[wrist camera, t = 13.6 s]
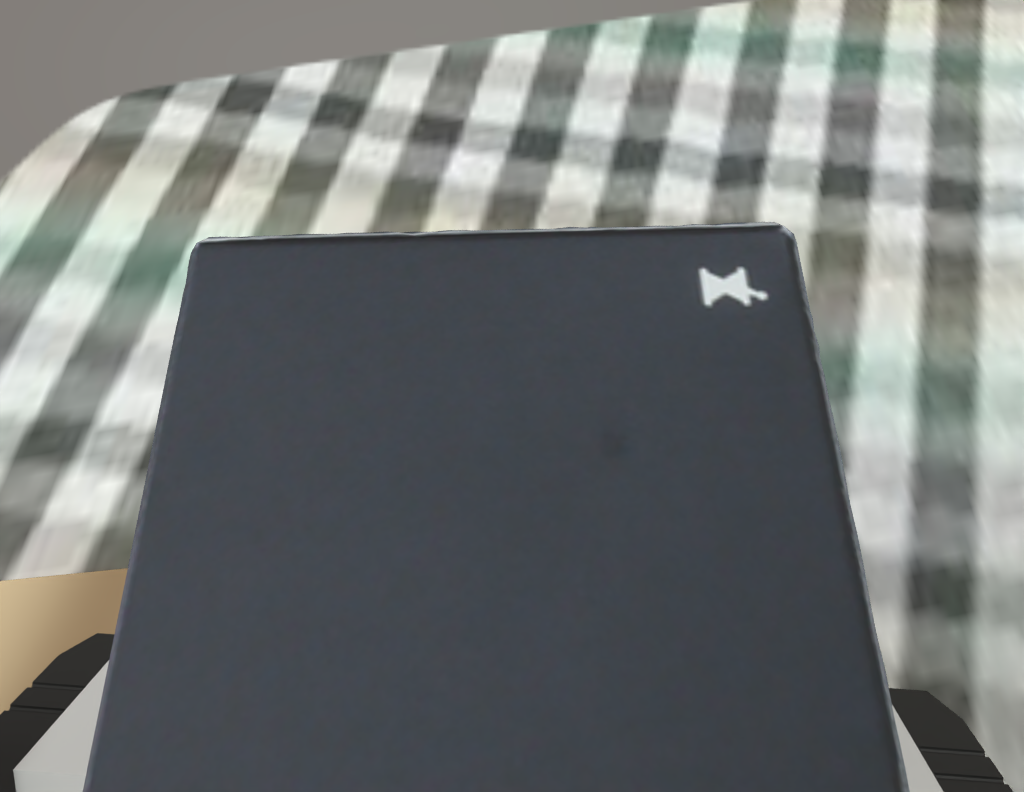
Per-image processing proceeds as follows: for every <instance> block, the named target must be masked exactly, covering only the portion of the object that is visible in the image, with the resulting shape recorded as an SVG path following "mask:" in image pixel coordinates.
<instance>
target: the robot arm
mask: <svg viewBox="0 0 1024 792" xmlns="http://www.w3.org/2000/svg"><path fill="white" fill-rule="evenodd" d="M113 639H114V634H104V633H97V634H95V635H93V636H91V637H89V638H88V639H86V640H84V641H82V642H81V643H79V644H77V645H75V646H74V647H72V648H70V649H68V650H67V651H65V652H63V653H61V654H60V655H58V656H57V657H56V658H55V659H54V660H53V661H52V662H51V663H50V664H49V665H48V666H47V667H46V669H45V670H44V671H43V672H42V673H41V674H40V675H39V676H38V677H37V678H36V679H35V680H34V681H33V682H32V687H31V688H30V687H27V688H26V689H25V690H24V691H23V692H22V693H21V694H20V695H19V696H18V697H17V698H16V699H15V700H14V701H13V702H12V703H11V704H10V709H9V711H6V710H4V711H3V712H2V713H1V714H0V792H83V788H84V783H85V778H86V773H87V767H88V762H89V757H90V752H91V747H92V743H93V738H94V733H95V728H96V723H97V718H98V713H99V708H100V703H101V698H102V693H103V688H104V683H105V679H106V674H107V669H108V664H109V659H110V654H111V649H112V644H113ZM889 692H890V697H891V703H892V708H893V713H894V718H895V723H896V727H897V732H898V736H899V741H900V745H901V750H902V755H903V760H904V765H905V770H906V775H907V780H908V786H909V791H910V792H1013V791H1012V790H1011V788H1010V787H1009V785H1006V784H1004V783H1003V777H1002V775H1001V774H1000V772H999V771H998V769H997V768H996V767H995V765H994V764H993V762H992V761H991V759H990V758H989V757H985V754H984V753H985V751H984V749H983V748H982V746H981V745H980V744H979V742H978V741H977V739H976V738H975V736H974V735H973V734H972V732H971V731H970V729H969V728H968V726H967V725H966V723H965V722H964V721H963V719H962V718H960V717H959V716H958V715H956V714H955V713H954V712H953V711H951V710H950V709H949V708H948V707H946V706H945V705H944V704H942V703H941V702H940V701H939V700H937V699H936V698H935V697H934V696H932V695H931V694H930V693H928V692H927V691H919V690H906V689H892V688H889Z"/></svg>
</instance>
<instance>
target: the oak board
mask: <svg viewBox="0 0 1024 792" xmlns="http://www.w3.org/2000/svg"><path fill="white" fill-rule="evenodd" d="M127 570H128V568H126V569H116V570H106V571H96V572H86V573H76V574H66V575H56V576H46V577H36V578H26V579H16V580H6V581H0V714H1V713H2V712H3V711H4V710H6V711H9V709H10V704H11V703H12V702H13V701H14V700H15V699H16V698H17V697H18V696H19V695H20V694H21V693H22V692H23V691H24V690H25V689H26V688H27V687H30V688H31V687H32V682H33V681H34V680H35V679H36V678H37V677H38V676H39V675H40V674H41V673H42V672H43V671H44V670H45V669H46V667H47V666H48V665H49V664H50V663H51V662H52V661H53V660H54V659H55V658H56V657H57V656H58V655H60V654H61V653H63V652H65V651H67V650H68V649H70V648H72V647H74V646H75V645H77V644H79V643H81V642H82V641H84V640H86V639H88V638H89V637H91V636H93V635H95V634H97V633H104V634H115V629H116V624H117V619H118V614H119V610H120V605H121V600H122V595H123V590H124V585H125V580H126V575H127Z"/></svg>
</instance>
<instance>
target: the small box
mask: <svg viewBox="0 0 1024 792" xmlns="http://www.w3.org/2000/svg"><path fill="white" fill-rule="evenodd" d="M83 792H910V791H909V786H908V780H907V775H906V770H905V765H904V760H903V755H902V750H901V745H900V741H899V736H898V732H897V727H896V723H895V718H894V713H893V708H892V703H891V697H890V692H889V687H888V682H887V677H886V672H885V667H884V663H883V659H882V655H881V651H880V647H879V643H878V639H877V634H876V629H875V624H874V620H873V615H872V609H871V604H870V598H869V593H868V587H867V581H866V576H865V570H864V565H863V560H862V555H861V550H860V545H859V540H858V536H857V531H856V527H855V523H854V518H853V514H852V510H851V506H850V500H849V495H848V490H847V484H846V479H845V473H844V468H843V463H842V457H841V452H840V447H839V441H838V436H837V432H836V427H835V423H834V419H833V414H832V410H831V405H830V401H829V397H828V392H827V386H826V381H825V376H824V372H823V368H822V364H821V359H820V350H819V345H818V342H817V339H816V336H815V333H814V326H813V318H812V315H811V312H810V308H809V302H808V297H807V292H806V287H805V282H804V277H803V272H802V267H801V262H800V258H799V253H798V247H797V242H796V239H795V237H794V234H793V233H792V232H790V231H789V230H788V229H787V228H786V227H785V226H782V225H780V224H778V223H775V222H754V223H726V224H715V225H699V224H692V225H683V226H642V227H610V228H598V227H589V228H578V227H567V228H557V229H512V230H480V231H468V230H448V231H438V232H404V233H398V232H374V233H341V234H296V235H282V236H251V237H209V238H207V239H204V240H202V241H200V242H198V243H196V245H195V247H194V249H193V250H192V252H191V256H190V260H189V266H188V272H187V279H186V285H185V289H184V293H183V297H182V302H181V308H180V313H179V318H178V322H177V326H176V331H175V335H174V340H173V345H172V350H171V355H170V360H169V365H168V370H167V375H166V380H165V385H164V390H163V395H162V400H161V405H160V410H159V415H158V420H157V425H156V430H155V435H154V440H153V445H152V450H151V455H150V461H149V466H148V471H147V476H146V481H145V486H144V491H143V496H142V501H141V506H140V511H139V515H138V520H137V525H136V530H135V535H134V540H133V545H132V550H131V555H130V560H129V565H128V570H127V575H126V580H125V585H124V590H123V595H122V600H121V605H120V610H119V614H118V619H117V624H116V629H115V634H114V639H113V644H112V649H111V654H110V659H109V664H108V669H107V674H106V679H105V683H104V688H103V693H102V698H101V703H100V708H99V713H98V718H97V723H96V728H95V733H94V738H93V743H92V747H91V752H90V757H89V762H88V767H87V773H86V778H85V783H84V788H83Z"/></svg>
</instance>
